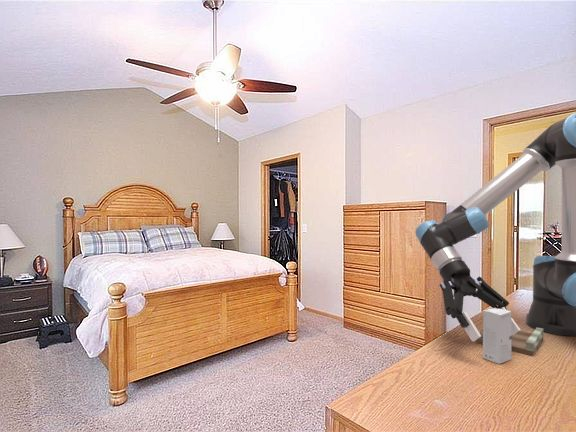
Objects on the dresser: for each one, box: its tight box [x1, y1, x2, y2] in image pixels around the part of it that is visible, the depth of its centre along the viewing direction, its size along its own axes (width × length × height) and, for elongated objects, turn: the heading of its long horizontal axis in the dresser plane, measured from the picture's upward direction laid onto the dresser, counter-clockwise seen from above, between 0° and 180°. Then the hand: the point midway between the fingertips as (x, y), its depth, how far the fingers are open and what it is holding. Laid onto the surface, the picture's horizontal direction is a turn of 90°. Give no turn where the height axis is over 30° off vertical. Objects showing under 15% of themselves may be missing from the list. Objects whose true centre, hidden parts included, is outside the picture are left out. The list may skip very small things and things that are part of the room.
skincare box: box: [482, 307, 512, 364], centre depth 88 cm, size 6×4×12 cm
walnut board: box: [473, 328, 544, 357], centre depth 100 cm, size 16×14×3 cm
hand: (497, 335), depth 87 cm, fingers open, 13 cm apart
